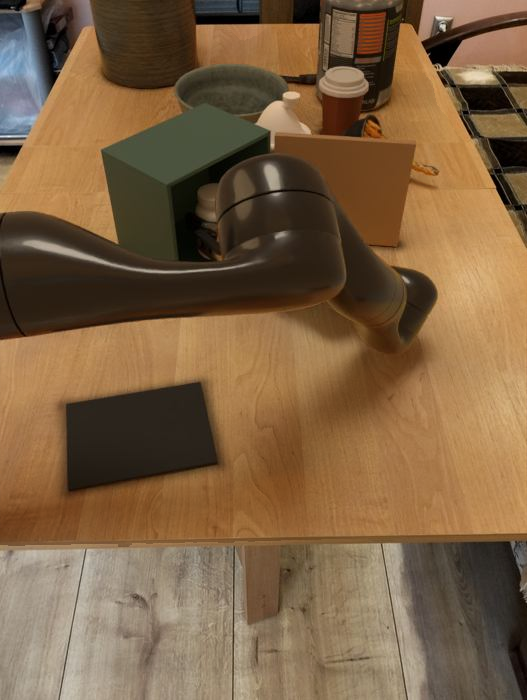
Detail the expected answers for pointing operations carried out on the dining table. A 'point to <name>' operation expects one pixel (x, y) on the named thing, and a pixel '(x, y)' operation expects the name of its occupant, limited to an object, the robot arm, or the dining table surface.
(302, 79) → the knife
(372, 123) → the fried food
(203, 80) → the bowl
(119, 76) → the planter
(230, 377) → the dining table surface
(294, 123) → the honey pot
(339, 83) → the coffee cup
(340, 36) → the supplement tub
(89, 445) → the mat
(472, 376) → the dining table surface
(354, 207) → the cupboard door
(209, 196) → the pill bottle
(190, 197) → the cupboard
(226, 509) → the dining table surface
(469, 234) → the dining table surface
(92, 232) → the robot arm
